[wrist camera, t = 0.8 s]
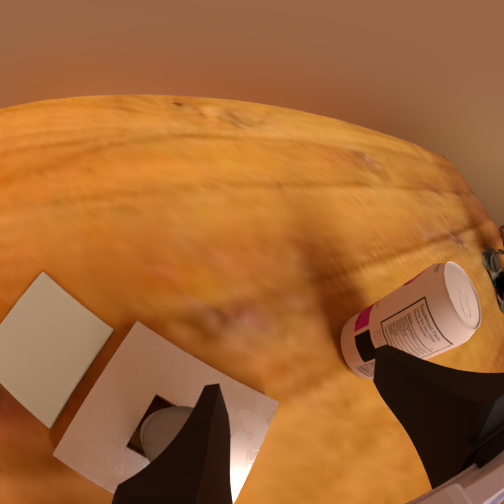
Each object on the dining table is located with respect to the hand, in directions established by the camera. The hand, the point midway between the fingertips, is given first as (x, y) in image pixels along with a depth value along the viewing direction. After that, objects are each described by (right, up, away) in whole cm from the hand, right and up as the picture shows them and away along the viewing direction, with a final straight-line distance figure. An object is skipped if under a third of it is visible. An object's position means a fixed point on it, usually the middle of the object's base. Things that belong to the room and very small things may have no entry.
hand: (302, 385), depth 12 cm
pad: (-20, -2, +7) cm, 21 cm away
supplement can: (+11, -6, +21) cm, 24 cm away
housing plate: (-9, -9, +8) cm, 15 cm away
